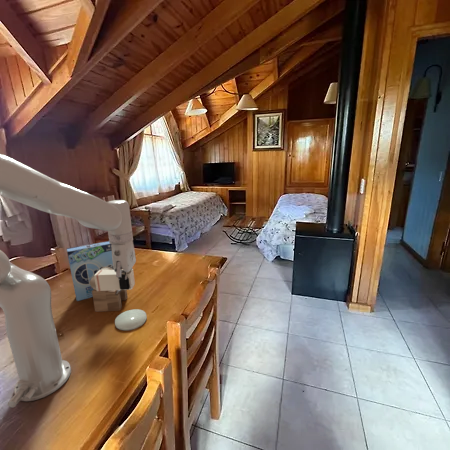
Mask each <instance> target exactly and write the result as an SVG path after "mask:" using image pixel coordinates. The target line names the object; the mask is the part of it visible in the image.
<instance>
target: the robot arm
mask: <svg viewBox="0 0 450 450" xmlns="http://www.w3.org/2000/svg"><path fill="white" fill-rule="evenodd" d="M0 196H1V197H3V198H6V199H9V200H11V201H14V202H17V203H20V204H23V205H25V206H28V207H31V208H33V209H35V210H39V211H41V212H45V213H47V214H51V215H56V216H61V217H66V218H70V219H73V220H76V221H77V222H78V223H79V224H80V225H82V226H83V227H85V228H89V229H94V230H95V229H96V230H101V231H105V232H107V235H108V241H109V243H110V244H112V261H113V268H114V271H115V272H116V277H118V280H119V285H120V289H121V290H125V289H130V285H129V278H128V277H127V272H129V271H130V270H131V269H133V267H134V266H135V264H136V262H137V259H136V251H135V245H134V237H133V228H132V227H133V226H132V220H131V211H130V210H131V208H130V204H129V202H128V201H127V200H124V199H115V200H109V201H105V200H104V199H102V198H100V197H98V196H95V195H93V194H90V193H88V192H86V191H83V190H80V189H77V188H75V187H74V186H71V185H68V184H66V183H63V182H61V181H59V180H57V179H54V178H52V177H49V176H48V175H46V174H44V173H42V172H40V171H38V170H36V169H33V168H32V167H30V166H28V165H26V164H24V163H22V162H20V161H17V160H16V159H14V158H12V157H10V156H7V155H5V154H2V153H0ZM122 269H123V270H122ZM122 273H125V275H124V274H122ZM0 308H1V310H2V311H3V313H4V324H5V332H6V337H7V340H8V343H9V347H10V350H11V353H12V358H13V361H14V365H15V369H16V373H17V375H18V380H17V381H16V383H15V385H14V388H13V392H14V395H12V397H11V398H10V400H9V401H8V402H7V406H8V407H9V408H15V407H17V405H18V404H19V403H20V402H21V401H22V402H32V401H37V400H40V399H43V398H45V397H47V396H49V395H51V394H53V393H54V392H56V391H57V390H58V389H60V388H61V387H62V386H63V385H64V384H65V383H66V382H67V381H68V379H69V378H70V375H71V373H72V367H71V364H70V363H69V361H67V360H64V359H63V357H62V352H61V349H60V344H59V339H58V333H57V329H56V324H55V321H54V316H53V310H52V289H51V286H50V284H49V283H48V281H47V280H46V279H45V278H43V277H42V276H41V275H38V274H37V273H34V272H32V271H28V270H26V269H23V268H21V267H19V266H17V265H16V264H14V263H12V262H11V261H10V258H9V257H8V256H7V254H6V253H5V252H4V251H3V250H2V249H0Z"/></svg>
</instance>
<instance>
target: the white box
mask: <svg viewBox="0 0 450 450" xmlns="http://www.w3.org/2000/svg"><path fill="white" fill-rule="evenodd" d="M122 270H123V269H122ZM134 273H135V272H134V269H133V268H132V269H131V270H130V271H129V272H127V277H128V278H129V285H130V289H125V290H129V291H130V290H131V291H132V289H134V287H135V284H136V280H135V274H134ZM122 274H124V275H125V273H122ZM94 278H95V284H96V290H97V291H109V290H121V289H120V285H119V280H118V277H116V272H115V271H114V270H99V271H98V272H97V273H96V274H95V275H94Z"/></svg>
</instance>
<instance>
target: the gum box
mask: <svg viewBox="0 0 450 450" xmlns="http://www.w3.org/2000/svg"><path fill="white" fill-rule="evenodd" d="M66 253H67V258H68V263H69V267H70V274H71V279H72V283H73V290H74V294H75V299H76V302H80V301H83V300H87V299H90V298H93V295H92V291H93V288H92V287H91V285H90V280H91V279H92V278H93V276H94V275H95V274H96V273H97V272H98V271H99V270H100V269H101V268H102V267H106V266H107V267H110V268H112V269H113V270H114V268H113V261H112V244H110V243H109V240H108V241H107V240H106V241H101V242H97V243H89V244H84V245H79V246H73V247H66Z"/></svg>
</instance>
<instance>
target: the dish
mask: <svg viewBox="0 0 450 450" xmlns="http://www.w3.org/2000/svg"><path fill="white" fill-rule="evenodd" d="M146 322H147V312H146V311H145V310H142V309H140V308H139V309H138V308H137V309H136V308H135V309H130V310H126V311H123V312H121V313H120V314H119V315H117V316H116V317H115V320H114V325H115V328H116V329H117V330H120V331H132V330H136V329H138V328H140V327H142V326H143V325H144V324H145V323H146Z"/></svg>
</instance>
